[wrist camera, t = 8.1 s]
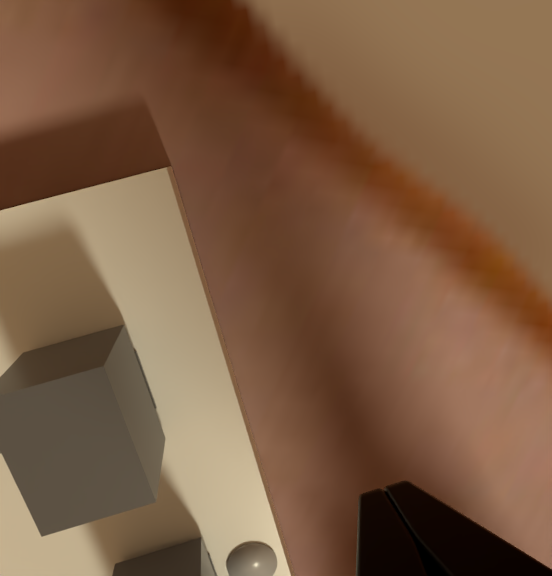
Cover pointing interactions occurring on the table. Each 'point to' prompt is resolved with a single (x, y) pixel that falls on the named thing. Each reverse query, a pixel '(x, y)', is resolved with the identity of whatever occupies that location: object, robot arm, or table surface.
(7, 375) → the dark grey block
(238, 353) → the table surface
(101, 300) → the switch board
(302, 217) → the table surface
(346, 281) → the table surface
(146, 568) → the dark grey box
